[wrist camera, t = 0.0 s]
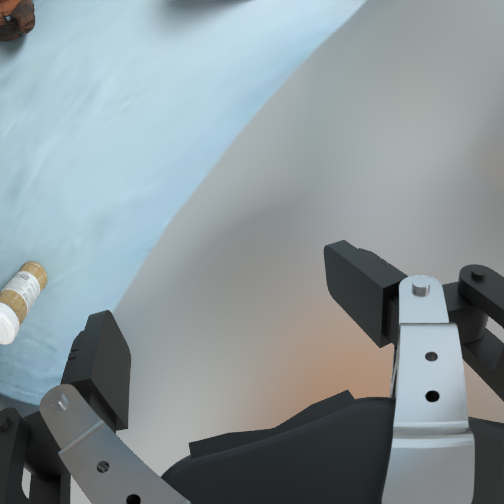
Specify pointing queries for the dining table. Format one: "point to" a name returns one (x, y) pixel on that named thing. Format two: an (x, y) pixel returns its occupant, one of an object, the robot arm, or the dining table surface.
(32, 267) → the sprinkles bottle
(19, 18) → the pottery mug
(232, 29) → the dining table surface
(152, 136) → the dining table surface
